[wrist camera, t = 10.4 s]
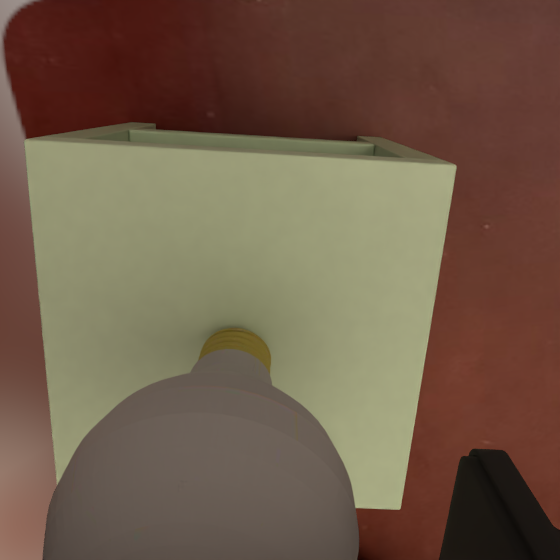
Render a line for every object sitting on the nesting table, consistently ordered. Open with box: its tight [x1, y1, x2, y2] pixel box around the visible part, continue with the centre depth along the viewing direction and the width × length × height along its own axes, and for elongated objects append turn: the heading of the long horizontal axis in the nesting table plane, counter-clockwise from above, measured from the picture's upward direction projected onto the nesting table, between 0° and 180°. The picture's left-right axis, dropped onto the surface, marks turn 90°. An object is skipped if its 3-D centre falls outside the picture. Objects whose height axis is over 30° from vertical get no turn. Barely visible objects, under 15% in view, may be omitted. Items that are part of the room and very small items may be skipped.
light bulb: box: [43, 328, 359, 560], centre depth 12 cm, size 5×6×10 cm
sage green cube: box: [24, 122, 456, 510], centre depth 22 cm, size 12×12×11 cm
